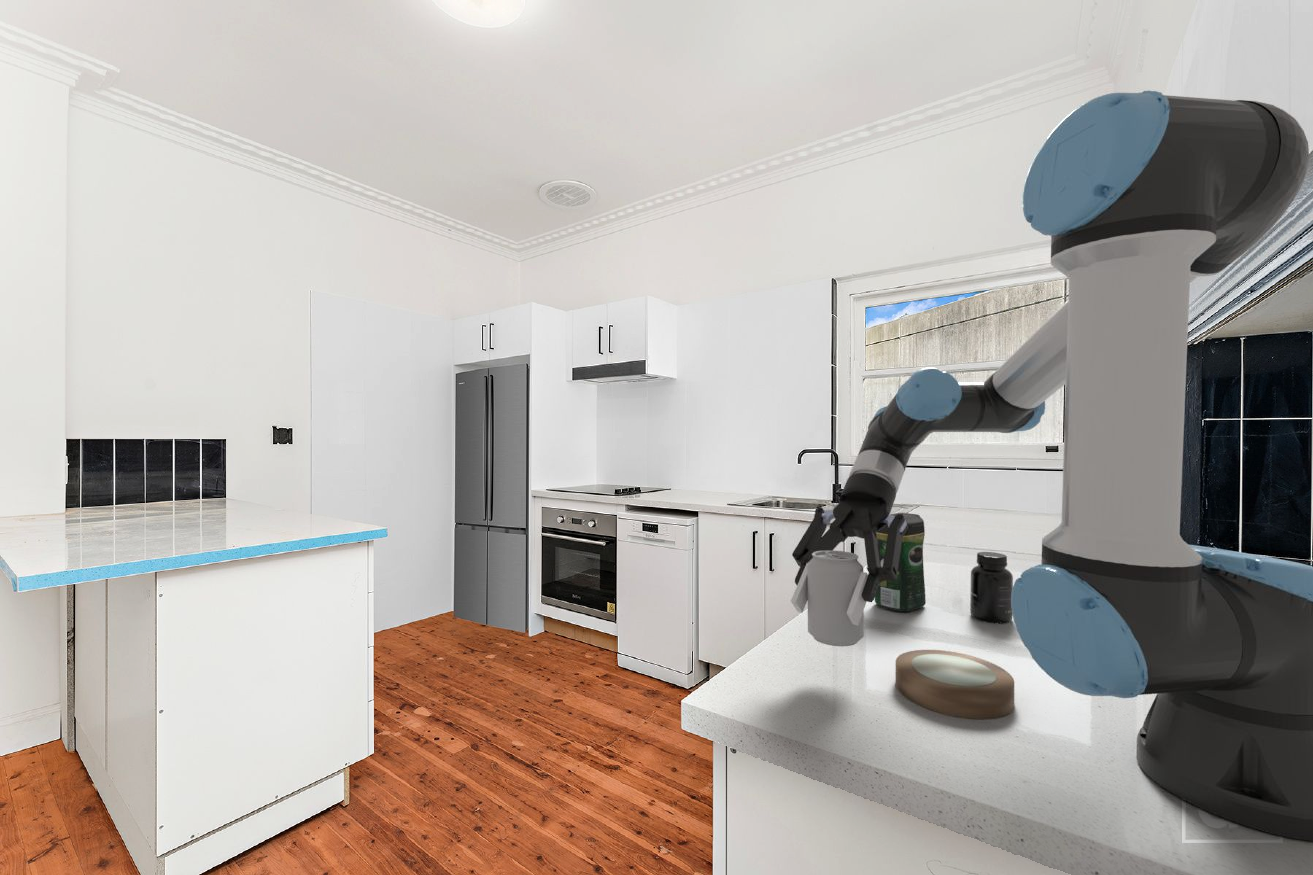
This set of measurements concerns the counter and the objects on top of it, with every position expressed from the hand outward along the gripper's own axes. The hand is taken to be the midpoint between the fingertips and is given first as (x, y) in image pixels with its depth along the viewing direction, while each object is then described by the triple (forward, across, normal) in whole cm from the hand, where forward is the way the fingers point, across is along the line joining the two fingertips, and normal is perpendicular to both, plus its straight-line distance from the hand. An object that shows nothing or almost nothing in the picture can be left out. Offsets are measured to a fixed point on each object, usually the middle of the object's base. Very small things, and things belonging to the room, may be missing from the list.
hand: (823, 612), depth 77 cm
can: (+1, 0, -6) cm, 6 cm away
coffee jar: (-24, +6, -38) cm, 45 cm away
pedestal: (0, -13, -15) cm, 20 cm away
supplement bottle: (-27, -9, -41) cm, 50 cm away
